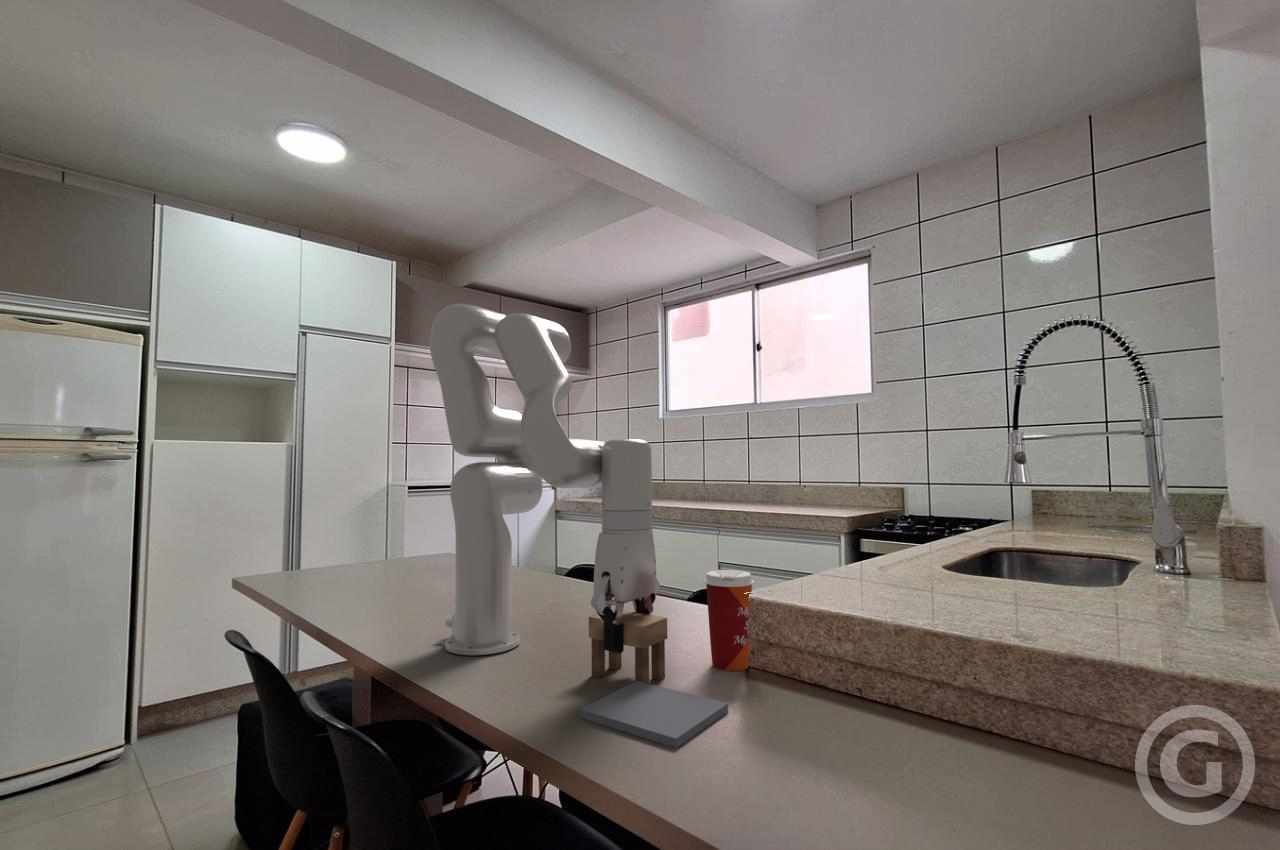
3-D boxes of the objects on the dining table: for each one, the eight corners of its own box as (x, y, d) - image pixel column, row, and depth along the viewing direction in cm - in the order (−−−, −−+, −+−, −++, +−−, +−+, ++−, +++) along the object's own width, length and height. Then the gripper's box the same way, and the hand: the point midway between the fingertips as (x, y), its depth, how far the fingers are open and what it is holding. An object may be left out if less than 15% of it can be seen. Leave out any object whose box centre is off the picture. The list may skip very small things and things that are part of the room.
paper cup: (755, 675, 88) (753, 578, 89) (703, 672, 90) (701, 576, 91) (756, 658, 96) (754, 569, 97) (707, 656, 97) (706, 568, 98)
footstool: (588, 675, 88) (588, 616, 89) (614, 664, 93) (613, 608, 94) (643, 689, 83) (643, 626, 83) (667, 677, 87) (667, 617, 88)
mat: (579, 717, 74) (579, 709, 74) (637, 688, 83) (637, 680, 83) (676, 748, 65) (676, 738, 65) (728, 711, 75) (727, 703, 75)
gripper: (640, 516, 99) (641, 628, 97) (568, 525, 85) (569, 656, 83) (679, 518, 94) (680, 636, 93) (610, 528, 80) (611, 666, 79)
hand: (627, 644), depth 88 cm, fingers closed on footstool, 6 cm apart
